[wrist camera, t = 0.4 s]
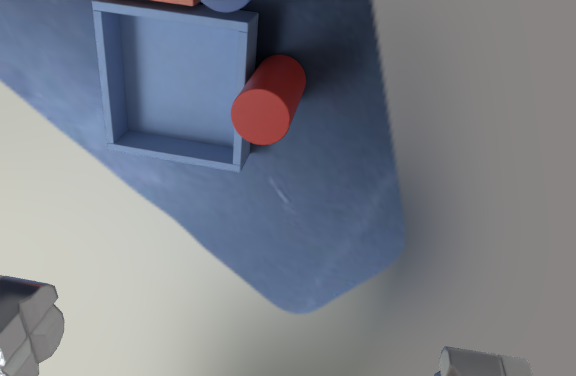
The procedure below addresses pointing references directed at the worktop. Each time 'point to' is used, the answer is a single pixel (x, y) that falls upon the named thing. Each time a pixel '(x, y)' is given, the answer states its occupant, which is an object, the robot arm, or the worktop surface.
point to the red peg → (269, 100)
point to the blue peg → (225, 5)
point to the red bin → (181, 2)
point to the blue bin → (174, 79)
